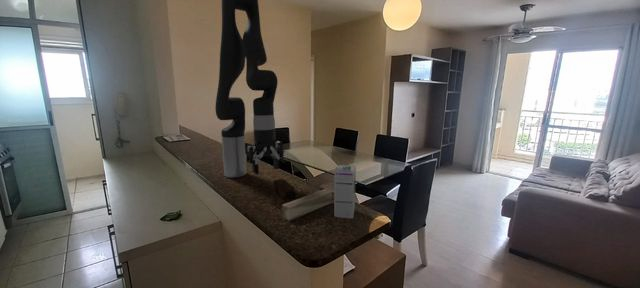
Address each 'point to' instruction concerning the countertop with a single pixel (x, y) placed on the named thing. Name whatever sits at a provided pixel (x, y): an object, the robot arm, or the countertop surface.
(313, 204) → the fence board
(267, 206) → the countertop surface
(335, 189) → the syrup box
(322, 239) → the countertop surface
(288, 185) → the brick
